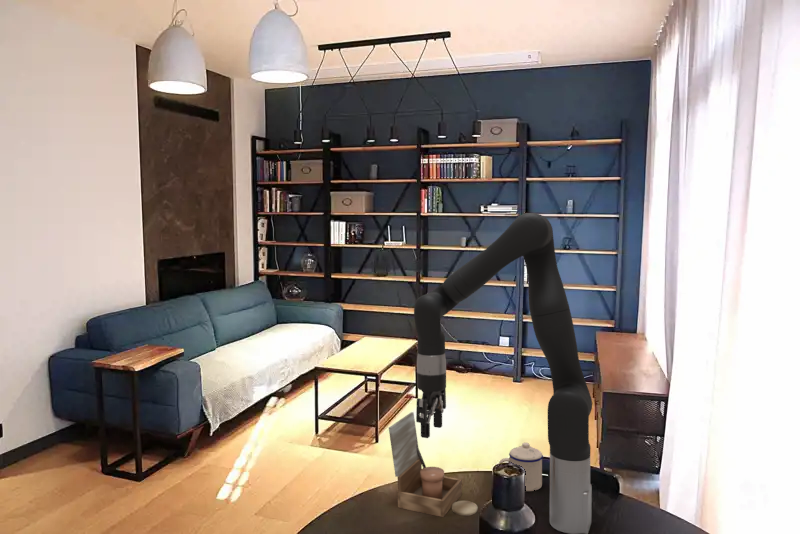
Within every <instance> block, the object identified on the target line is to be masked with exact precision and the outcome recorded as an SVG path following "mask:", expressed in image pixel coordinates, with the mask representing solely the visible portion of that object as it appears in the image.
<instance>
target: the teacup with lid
mask: <svg viewBox="0 0 800 534" xmlns="http://www.w3.org/2000/svg"><path fill="white" fill-rule="evenodd" d="M530 445H531V444H530V443H528V442H523V443H522V445H520V446H517V447H514V448H511V449H510V450H509V453H508V455H509V457H505V458H501V459H500V460H499V462H498V465H499V464H500V463H502V464H504V463H505V462H509V463H510V462H512V463H514V464H517V465H520V466H522V467H523V468H524V469H525V471H526V475H525V486H526V491H525V492H535V491H538V490H539V489H541V488H542V486H543V458H544V454H543V452H542V451H540V450H539V449H538V448H535V447H533V446H530ZM534 490H535V491H534Z"/></svg>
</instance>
